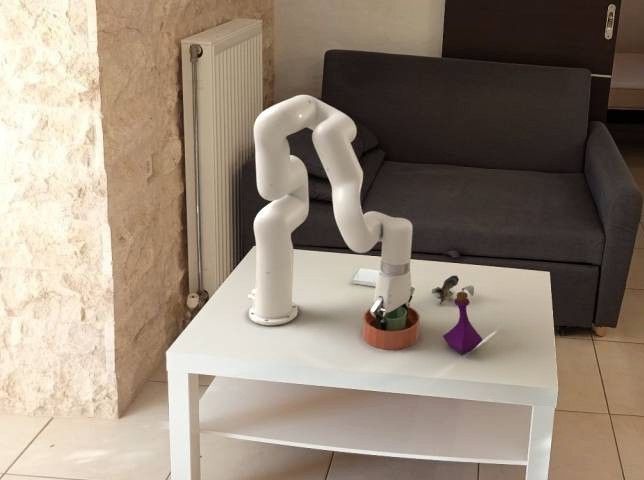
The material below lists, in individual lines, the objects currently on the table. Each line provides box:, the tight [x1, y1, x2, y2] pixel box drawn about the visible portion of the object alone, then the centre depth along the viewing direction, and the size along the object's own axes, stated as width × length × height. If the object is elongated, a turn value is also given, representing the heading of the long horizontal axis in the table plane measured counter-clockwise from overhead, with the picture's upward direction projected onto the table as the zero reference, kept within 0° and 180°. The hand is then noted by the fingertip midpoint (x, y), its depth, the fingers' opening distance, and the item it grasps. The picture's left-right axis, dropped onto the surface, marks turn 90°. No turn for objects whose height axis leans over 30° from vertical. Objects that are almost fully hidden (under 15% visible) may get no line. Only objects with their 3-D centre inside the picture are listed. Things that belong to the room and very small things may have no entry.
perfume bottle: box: [442, 285, 484, 356], centre depth 187 cm, size 8×8×18 cm
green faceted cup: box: [380, 306, 407, 331], centre depth 191 cm, size 8×8×6 cm
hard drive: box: [352, 267, 381, 287], centre depth 221 cm, size 2×8×12 cm
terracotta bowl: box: [362, 306, 421, 351], centre depth 191 cm, size 15×15×6 cm
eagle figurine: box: [431, 275, 460, 306], centre depth 214 cm, size 8×7×9 cm
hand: (391, 326), depth 191 cm, fingers open, 8 cm apart
